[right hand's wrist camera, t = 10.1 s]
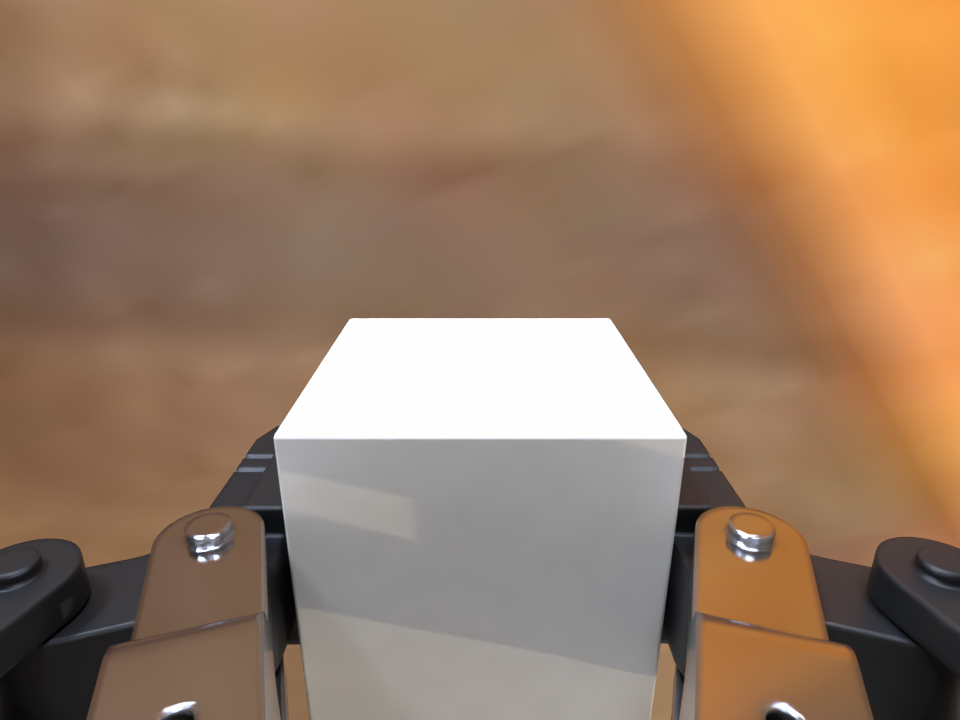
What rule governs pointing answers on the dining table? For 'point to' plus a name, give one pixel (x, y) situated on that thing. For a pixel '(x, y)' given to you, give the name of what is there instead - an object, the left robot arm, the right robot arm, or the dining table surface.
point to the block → (480, 521)
